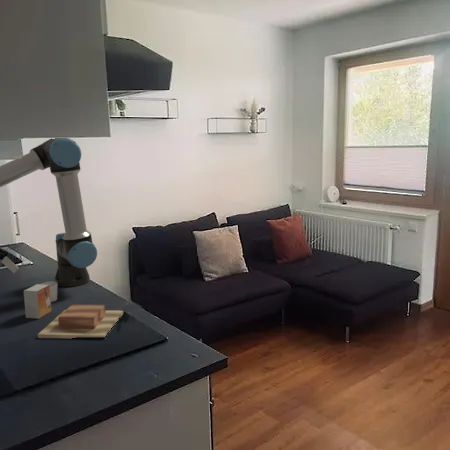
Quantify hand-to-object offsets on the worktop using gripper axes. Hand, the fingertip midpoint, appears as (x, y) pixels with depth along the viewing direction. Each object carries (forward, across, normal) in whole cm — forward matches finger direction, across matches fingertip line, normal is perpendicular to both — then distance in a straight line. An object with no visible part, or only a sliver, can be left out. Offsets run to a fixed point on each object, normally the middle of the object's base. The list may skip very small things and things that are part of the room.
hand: (7, 275), depth 164 cm
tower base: (+32, +9, +11) cm, 35 cm away
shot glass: (+16, -16, -5) cm, 23 cm away
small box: (+18, 0, -3) cm, 18 cm away
